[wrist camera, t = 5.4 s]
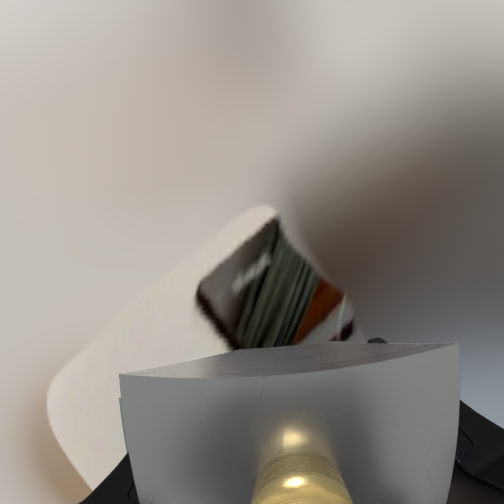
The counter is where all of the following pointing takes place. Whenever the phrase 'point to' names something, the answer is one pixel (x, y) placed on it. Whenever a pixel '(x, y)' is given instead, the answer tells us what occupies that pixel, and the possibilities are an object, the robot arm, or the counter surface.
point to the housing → (297, 425)
